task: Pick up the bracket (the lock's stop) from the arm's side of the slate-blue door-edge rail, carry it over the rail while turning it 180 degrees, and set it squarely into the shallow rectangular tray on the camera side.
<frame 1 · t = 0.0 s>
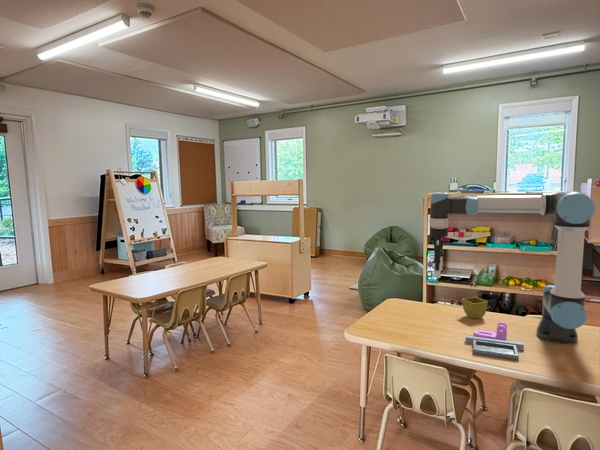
hand: (438, 273, 173), 28 cm above the table, fingers open, 13 cm apart
bracket: (489, 337, 171), on the table
door edge: (493, 345, 162), on the table
flower pot: (474, 317, 195), on the table
shallow rectangular tray: (494, 351, 156), on the table
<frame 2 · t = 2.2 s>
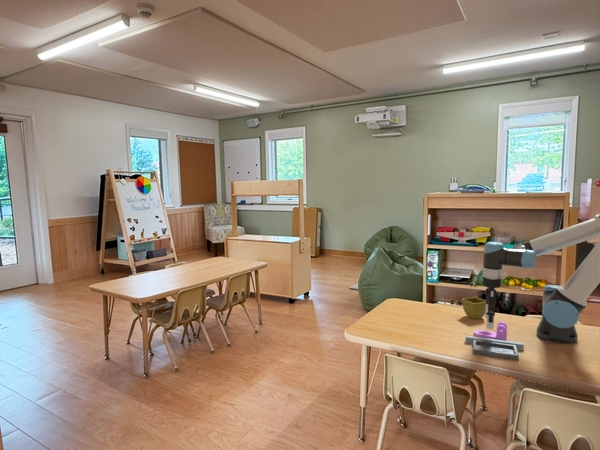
hand: (489, 323, 171), 6 cm above the table, fingers open, 13 cm apart
nothing on the table moved.
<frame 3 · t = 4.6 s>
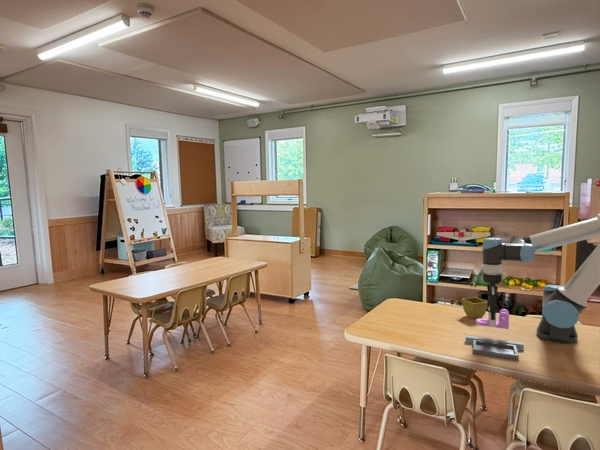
hand: (492, 323, 170), 6 cm above the table, fingers closed on bracket, 6 cm apart
bracket: (492, 325, 170), point 5 cm above the table, touching gripper
everything else where it was.
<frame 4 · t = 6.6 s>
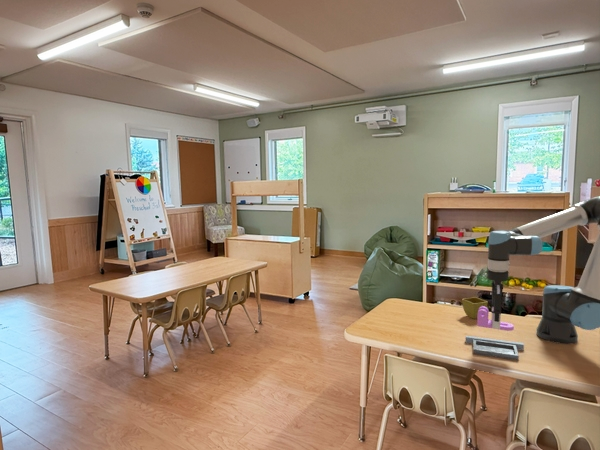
hand: (495, 325, 155), 11 cm above the table, fingers closed on bracket, 6 cm apart
bracket: (495, 327, 155), point 11 cm above the table, touching gripper
everything else where it was.
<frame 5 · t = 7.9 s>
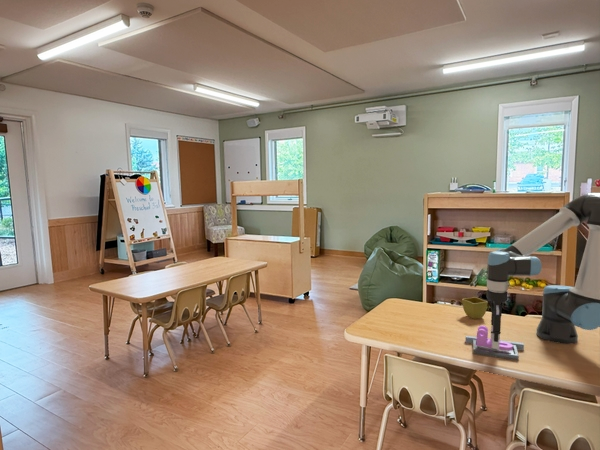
hand: (494, 344, 156), 3 cm above the table, fingers closed on bracket, 6 cm apart
bracket: (494, 346, 156), point 2 cm above the table, touching gripper
everything else where it was.
when the fingers open (2 cm above the table, at t = 8.8 s): bracket drops 1 cm, resting on shallow rectangular tray.
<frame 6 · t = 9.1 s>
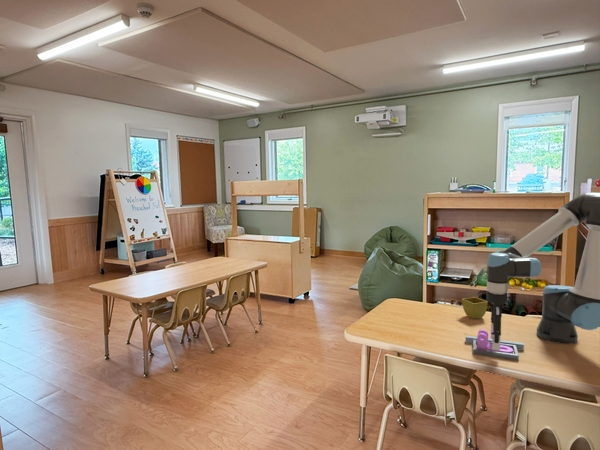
hand: (494, 344, 156), 3 cm above the table, fingers open, 10 cm apart
bracket: (494, 350, 156), point 1 cm above the table, touching shallow rectangular tray
everything else where it was.
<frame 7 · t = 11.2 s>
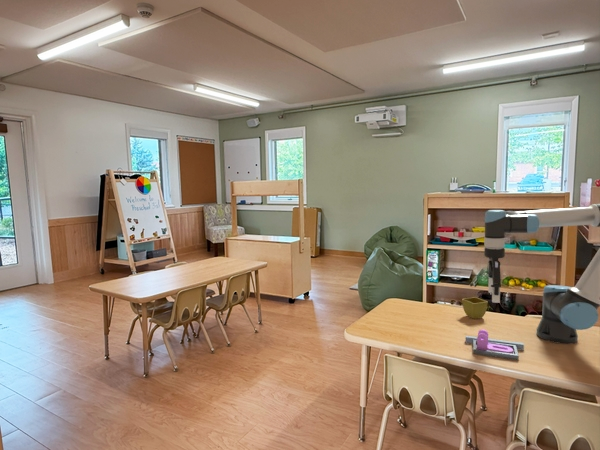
hand: (493, 297, 160), 21 cm above the table, fingers open, 13 cm apart
nothing on the table moved.
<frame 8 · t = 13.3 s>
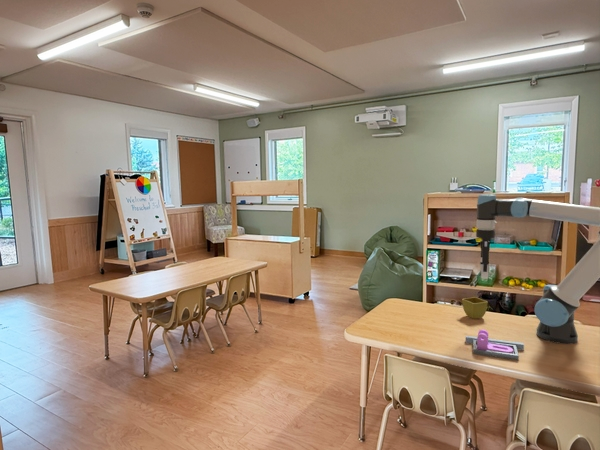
hand: (483, 275, 174), 27 cm above the table, fingers open, 13 cm apart
nothing on the table moved.
at the end: bracket 0.1 cm off-centre on the shallow rectangular tray, point 0.6 cm above the shallow rectangular tray's base; bracket tilted 0°; the gripper is holding nothing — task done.
